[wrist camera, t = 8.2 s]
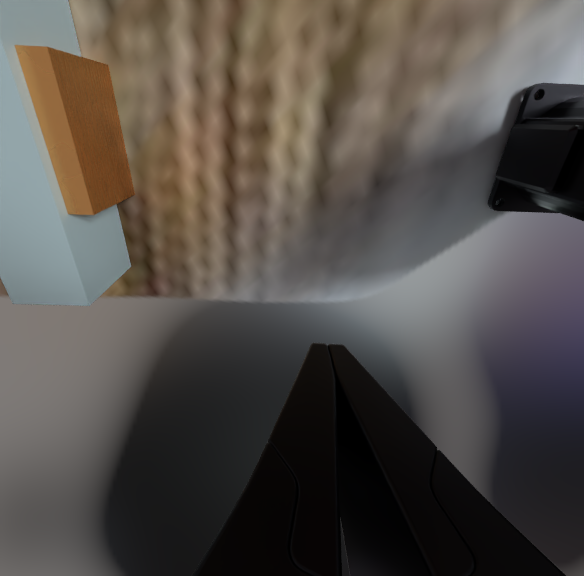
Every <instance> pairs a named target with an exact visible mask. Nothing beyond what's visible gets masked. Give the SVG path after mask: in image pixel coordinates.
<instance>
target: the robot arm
mask: <svg viewBox="0 0 584 576" xmlns="http://www.w3.org/2000/svg"><path fill="white" fill-rule="evenodd" d="M536 91H539V96H538V98H537V99H536V100H535V98H534V95H535V93H536ZM496 176H497V177H496V180H495V183H494V186H493V189H492V191H491V194H490V197H489V200H488V206H489V207H490V208H491V209H493V210H496V211H515V212H543V213H545V212H546V213H562V214H564V215H567V216H570V217H573V218H576V219H579V220H582V221H584V85H574V84H553V83H541V84H534V85H533V86H531V87H530V88H529V89H528V90H527V91H526V93H525V96H524V98H523V101H522V104H521V107H520V110H519V113H518V116H517V119H516V122H515V125H514V127H513V128H512V129H511V132H510V135H509V138H508V141H507V144H506V147H505V150H504V153H503V156H502V158H501V161H500V164H499V167H498V170H497V173H496ZM498 199H501V201H500V203H499V204H497V205H496V202H497V200H498ZM340 518H341V524H342V530H343V535H344V542H345V548H346V553H347V560H348V566H349V572H350V576H566V575H565V574H564V573H563V572H562V571H561V570H560V569H558V567H557V566H556V565H554V564H553V563H552V562H551V561H550V560H549V559H548V558H547V557H546V556H545V555H544V554H543V553H542V552H541V551H540V550H539V549H537V547H536V546H534V545H533V544H532V543H531V542H530V541H529V540H528V539H527V538H526V537H525V536H524V535H523V534H522V533H521V532H520V531H519V530H518V529H516V527H514V526H513V525H512V524H511V523H510V522H509V521H508V520H507V519H506V518H505V517H504V516H503V515H502V514H501V513H500V512H499V511H498V510H497V509H496V508H495V507H494V506H493V505H492V504H491V503H490V502H489V501H488V500H487V499H486V498H485V497H484V496H482V494H481V493H480V492H479V491H477V490H476V489H475V487H474V486H473V485H472V484H471V483H470V482H469V481H468V480H467V479H466V478H465V477H464V476H463V475H462V474H461V473H460V472H459V470H458V469H457V468H456V467H455V466H454V465H453V464H452V463H451V462H450V461H449V460H448V459H447V457H446V456H445V455H444V454H443V453H442V452H441V451H440V450H437V447H436V446H435V444H434V443H433V442H432V441H431V440H430V439H429V438H428V437H427V436H426V435H425V433H424V432H423V431H422V430H421V429H420V428H419V427H418V426H417V425H416V424H415V423H414V421H413V420H412V419H411V418H410V417H409V416H408V415H407V414H406V413H405V412H404V410H403V409H402V408H401V407H400V406H399V405H398V404H397V403H396V402H395V401H394V399H393V398H392V397H391V396H390V395H389V394H388V393H387V392H386V391H385V389H384V388H383V387H382V386H381V385H380V384H379V383H378V382H377V381H376V380H375V379H374V377H373V376H372V375H371V374H370V373H369V372H368V371H367V370H366V369H365V368H364V366H363V365H362V364H361V363H360V362H359V361H358V360H357V359H356V358H355V357H354V355H353V354H352V353H351V352H350V351H349V350H348V349H347V348H346V347H345V346H344V345H342V344H329V345H327V344H325V343H312V344H311V346H310V348H309V350H308V352H307V355H306V357H305V359H304V361H303V364H302V366H301V368H300V371H299V373H298V375H297V377H296V379H295V381H294V384H293V386H292V388H291V390H290V393H289V395H288V397H287V399H286V401H285V404H284V406H283V408H282V410H281V413H280V415H279V417H278V419H277V422H276V424H275V426H274V428H273V430H272V433H271V435H270V437H269V439H268V443H267V444H266V445H265V448H264V450H263V452H262V454H261V457H260V459H259V461H258V463H257V465H256V467H255V469H254V471H253V473H252V475H251V477H250V479H249V482H248V483H247V485H246V487H245V488H244V490H243V492H242V494H241V496H240V497H239V499H238V501H237V502H236V504H235V506H234V508H233V510H232V511H231V513H230V514H229V516H228V518H227V519H226V521H225V523H224V524H223V526H222V528H221V529H220V531H219V533H218V534H217V536H216V537H215V539H214V541H213V542H212V544H211V546H210V547H209V549H208V551H207V552H206V554H205V555H204V557H203V558H202V560H201V562H200V563H199V565H198V567H197V568H196V570H195V571H194V573H193V575H192V576H342V566H341V565H342V563H341V535H340V534H341V531H340Z"/></svg>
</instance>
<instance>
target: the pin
mask: <svg viewBox="0 0 584 576" xmlns="http://www.w3.org/2000/svg"><path fill="white" fill-rule="evenodd" d="M14 46H15V49H16V52H17V55H18V58H19V61H20V65H21V68H22V71H23V74H24V77H25V80H26V83H27V87H28V90H29V93H30V96H31V99H32V102H33V105H34V109H35V112H36V115H37V118H38V121H39V124H40V128H41V131H42V134H43V137H44V140H45V143H46V146H47V150H48V153H49V156H50V159H51V162H52V165H53V168H54V172H55V175H56V178H57V181H58V184H59V187H60V191H61V194H62V197H63V200H64V203H65V206H66V209H67V213H68V214H78V215H95V214H97V213H99V212H101V211H103V210H105V209H107V208H109V207H111V206H113V205H115V204H117V203H119V202H121V201H123V200H125V199H127V198H129V197H131V196H133V195H135V193H134V188H133V184H132V179H131V174H130V169H129V164H128V159H127V154H126V150H125V145H124V140H123V135H122V130H121V125H120V120H119V115H118V111H117V106H116V101H115V96H114V91H113V86H112V81H111V77H110V72H109V67H108V65H106V64H103V63H100V62H96V61H93V60H90V59H87V58H83V57H80V56H77V55H73V54H70V53H67V52H63V51H60V50H57V49H54V48H50V47H46V46H26V45H14Z"/></svg>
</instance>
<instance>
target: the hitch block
mask: <svg viewBox="0 0 584 576" xmlns="http://www.w3.org/2000/svg"><path fill="white" fill-rule="evenodd" d="M14 45H26V46H46V47H50V48H54V49H57V50H60V51H63V52H67V53H70V54H73V55H77V56H80V57H81V53H80V48H79V44H78V40H77V36H76V32H75V27H74V23H73V19H72V15H71V11H70V6H69V2H68V0H0V278H1V280H2V282H3V284H4V286H5V288H6V290H7V292H8V295H9V297H10V299H11V301H12V303H13V304H36V305H77V306H79V305H80V306H90V305H91V304H92V303H93V302H94V301H95V300H96V299H97V298H98V297H99V296H101V295H102V294H103V293H104V292H105V291H106V290H107V289H108V288H109V287H110V286H111V285H112V284H113V283H114V282H115V281H116V280H117V279H118V278H120V277H121V276H122V275H123V274H124V273H125V272H126V271H127V270H128V269H129V268H130V267H131V263H130V259H129V255H128V251H127V246H126V242H125V238H124V234H123V230H122V225H121V221H120V217H119V213H118V209H117V204H115V205H113V206H111V207H109V208H107V209H105V210H103V211H101V212H99V213H97V214H95V215H78V214H68V213H67V209H66V206H65V203H64V200H63V197H62V194H61V191H60V187H59V184H58V181H57V178H56V175H55V172H54V168H53V165H52V162H51V159H50V156H49V153H48V150H47V146H46V143H45V140H44V137H43V134H42V131H41V128H40V124H39V121H38V118H37V115H36V112H35V109H34V105H33V102H32V99H31V96H30V93H29V90H28V87H27V83H26V80H25V77H24V74H23V71H22V68H21V65H20V61H19V58H18V55H17V52H16V49H15V46H14Z"/></svg>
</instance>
